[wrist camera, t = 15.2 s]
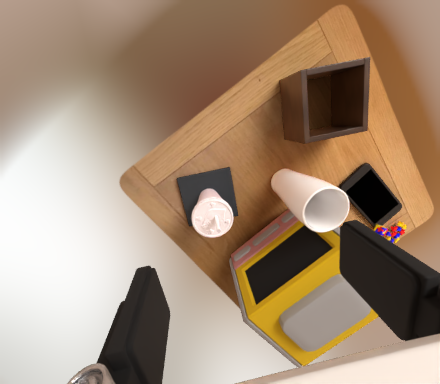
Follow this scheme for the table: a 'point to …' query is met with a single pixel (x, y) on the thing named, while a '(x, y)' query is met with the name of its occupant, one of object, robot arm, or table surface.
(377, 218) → the smartphone
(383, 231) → the building blocks
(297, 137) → the holder
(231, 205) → the mat
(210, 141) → the table surface
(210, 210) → the smoothie
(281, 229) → the alarm clock
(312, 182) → the drinking glass
